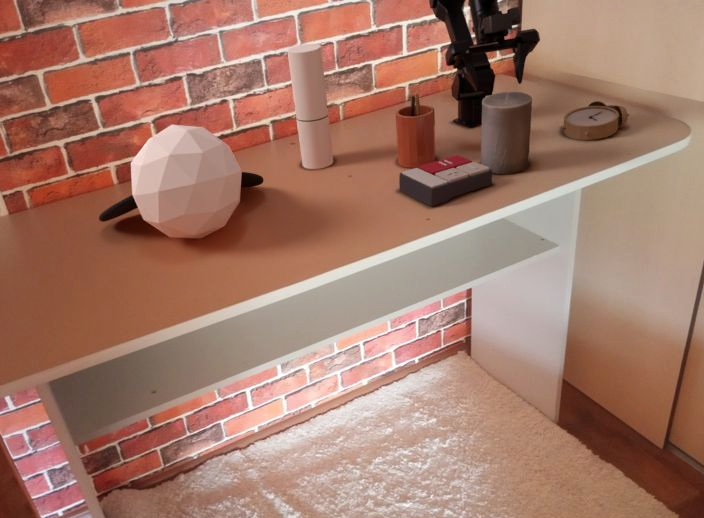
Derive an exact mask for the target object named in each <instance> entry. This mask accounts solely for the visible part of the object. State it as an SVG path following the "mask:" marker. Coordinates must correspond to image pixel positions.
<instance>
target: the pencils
mask: <svg viewBox="0 0 704 518" xmlns="http://www.w3.org/2000/svg"><path fill="white" fill-rule="evenodd" d="M410 98H411V99H410V100H411V101H410V106H411V112H410V116H414V109H415V105H416V110H417V116H420V115H421V111H420V105H421V103H420V94H419V92H418V91H415V92H414V94H413V95H411V97H410Z"/></svg>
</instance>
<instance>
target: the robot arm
mask: <svg viewBox="0 0 704 518" xmlns="http://www.w3.org/2000/svg"><path fill="white" fill-rule="evenodd" d="M466 1H467V0H428V3H429V8H430V9H431V11H432V12H433V15H434V17H435V18H436V19H437V20H440V21H441V22H443V23H444V25H445V28H446V31H447V33H448V36H449V40H450V44H449V45H448V47H447V49H446V52H445V54H444V56H445V57H444V58H445V63H446V64H445V65H446V66H447V67H452V68H453V69H454V70H455V69H456V71H455V74H454V75H455V76H454V78H453V80H452V83H451V86H450V89H451V91H450V92H451V97H452V98H453V99H454V100H455V101H457V118H454V119H453V120H452V122H453V123H455V124H458V125H461V126H464V127H466V128H473V127H476V126H479V125H482V101H483V99H484V98H486V97H487V96H490V95H493V92H494V87H495V82H496V74H495V71H494V69H493V67H491V62H490V61H489V57H488V54H487V53H493V52H499V51H504V50H505V51H506V50H512V53H514V55H513V56H512V62H513V67H514V72H515V75H516V81H517V83H518V85H520V84H522V83H523V79H524V78H523V77H524V72H525V64H526V60H527V57H528V56H529V54H530V53H532V52H533V51H534V49H535V48H536V46H538V44H539V43H540V41H541V37H540V32H539V31H538V29H536V28H530V29H523V30H518V32H517V33H516V35H515V37H513V38H507V39H506V38H505V37H508V36H509V32H510V31H512V30H513V26H517V25H520V24H521V21H522V20H521V12H520V8H519V7H518V6H517V7H510V8H509V9H507V11H506V12H504V13H503V11H502V10H500V6H499V0H468V2H467V6H468V7H469V10H470V16H471V22H472V27H471V30H472V34H473V33H474V38H475V43H474V40H473V37H472V34H471V31H470V28H469V25H468V22H467V20H466V17H465V14H464V9H465V3H466Z"/></svg>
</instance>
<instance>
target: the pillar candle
mask: <svg viewBox="0 0 704 518" xmlns="http://www.w3.org/2000/svg"><path fill="white" fill-rule="evenodd" d="M532 107H533V98H532V96H531V95H530V94H527V93H525V92H520V91H503V92H498V93H494V94H493V93H492V95H490V96H486V98H484V99H483V101H482V124H481V139H480V140H481V142H480V164H482V165H484V166H487V167H489V169H490V170H492V174H494V175H508V174H515V173H519V172H521V171H525V170H526V169H527V168H528V167H529V165H530V164H529V158H530V157H529V154H530V145H531V143H530V141H531V128H532V127H531V126H532V125H531V124H532V110H533V109H532Z"/></svg>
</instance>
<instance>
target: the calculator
mask: <svg viewBox="0 0 704 518" xmlns="http://www.w3.org/2000/svg"><path fill="white" fill-rule="evenodd" d="M398 176H399V177H398V178H399V179H398V180H399V181H398V182H399V183H398V184H399V185H398V186H399V191H400V192H402V193H404V194H406V195H408V196H410V197H411V198H414V199H416V200H417V201H419V202H422V203H424V204H425V205H427V206H429V207H435V206H438V205H442V204H444V203H447V202H448V201H449V200H450V199H452V198H454V197H457V196H461V195H463V194H467V193H470V192H473V191H476V190H480V189H482V188H485V187H489V186H492V184H493V173H492V170H490V169H489V167H487V166H484V165H482V164H481V163H479V162H476V161H473V160H471V159H469V158H466V157H464V156H461V155H459V154H456V155H452V156H449V157H446V158H441V159H439V160H435V161H434V162H432V163H428V164H425V165H421V166H419V168H410V169H407V170H404V171H402V172H400V173H399V175H398Z"/></svg>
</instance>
